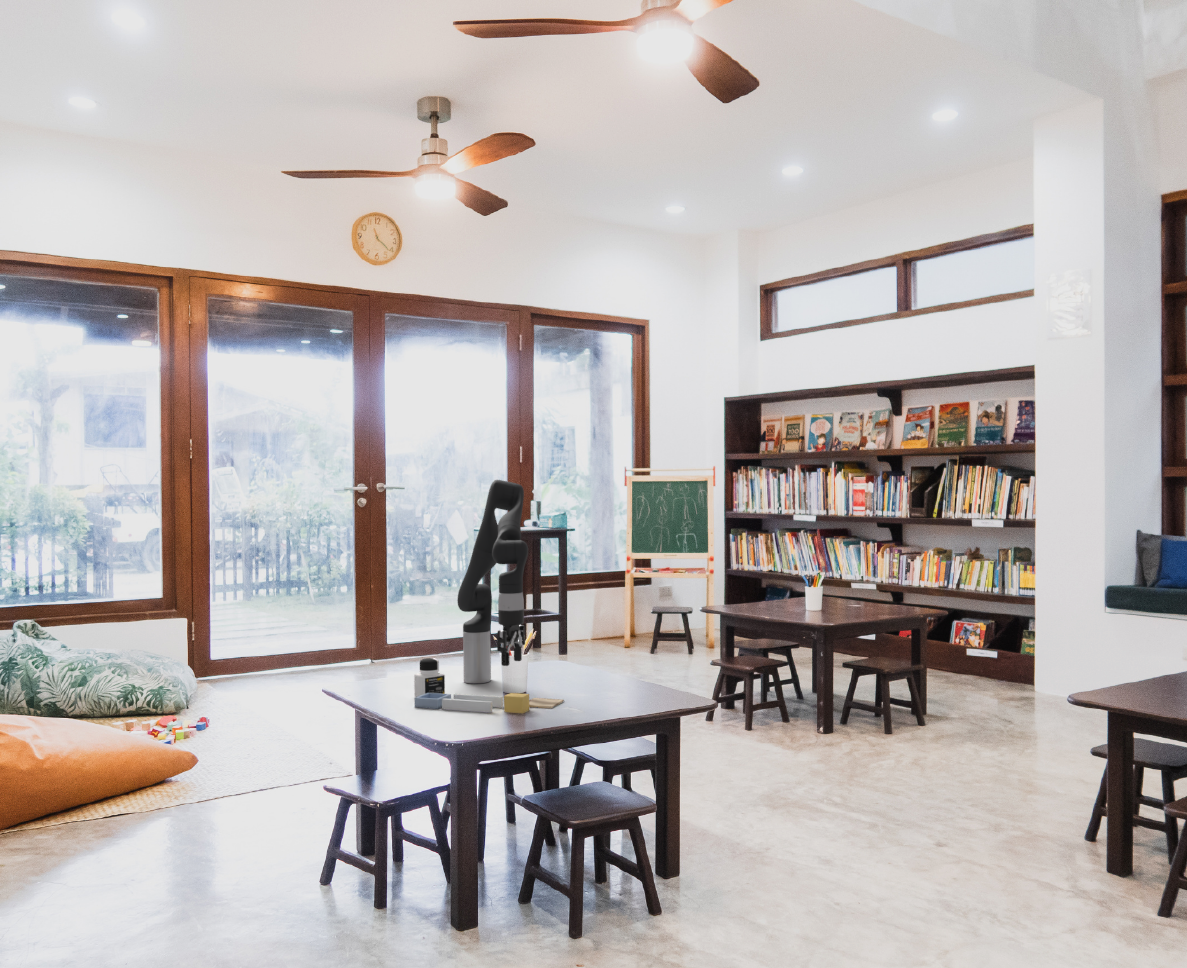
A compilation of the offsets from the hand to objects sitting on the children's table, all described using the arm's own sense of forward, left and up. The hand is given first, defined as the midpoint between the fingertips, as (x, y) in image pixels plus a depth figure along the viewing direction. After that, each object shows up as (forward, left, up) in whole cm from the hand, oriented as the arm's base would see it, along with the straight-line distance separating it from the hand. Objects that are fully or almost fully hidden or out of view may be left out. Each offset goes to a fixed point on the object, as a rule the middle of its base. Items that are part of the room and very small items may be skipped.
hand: (511, 663), depth 276 cm
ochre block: (0, +1, -14) cm, 14 cm away
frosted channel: (0, -13, -14) cm, 19 cm away
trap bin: (0, -27, -14) cm, 30 cm away
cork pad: (-11, +5, -14) cm, 18 cm away
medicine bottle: (-11, -34, -14) cm, 38 cm away
